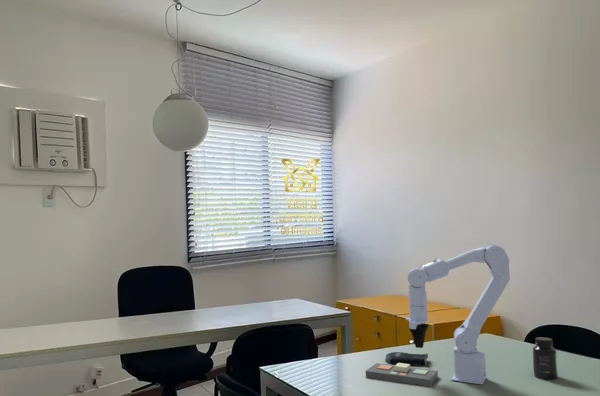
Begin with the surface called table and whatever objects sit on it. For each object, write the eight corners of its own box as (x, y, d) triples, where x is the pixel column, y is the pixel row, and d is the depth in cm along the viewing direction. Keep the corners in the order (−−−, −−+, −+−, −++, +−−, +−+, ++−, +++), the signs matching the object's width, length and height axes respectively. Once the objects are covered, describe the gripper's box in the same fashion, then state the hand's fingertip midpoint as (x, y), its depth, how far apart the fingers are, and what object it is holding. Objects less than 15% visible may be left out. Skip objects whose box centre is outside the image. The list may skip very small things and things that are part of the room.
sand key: (410, 369, 157) (410, 364, 157) (406, 372, 153) (406, 367, 153) (398, 367, 159) (398, 362, 159) (394, 370, 155) (394, 365, 155)
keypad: (438, 377, 154) (437, 370, 154) (430, 386, 146) (429, 379, 146) (376, 368, 165) (376, 362, 165) (365, 377, 156) (365, 370, 156)
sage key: (428, 375, 154) (428, 370, 154) (425, 379, 150) (425, 374, 150) (416, 373, 156) (416, 369, 156) (412, 377, 152) (412, 372, 152)
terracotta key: (392, 370, 160) (392, 365, 160) (388, 374, 156) (388, 369, 156) (381, 369, 162) (381, 364, 162) (377, 372, 158) (377, 367, 158)
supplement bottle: (562, 378, 150) (560, 339, 151) (546, 381, 148) (544, 342, 149) (545, 372, 157) (543, 335, 157) (529, 375, 154) (527, 337, 155)
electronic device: (427, 364, 175) (386, 356, 179) (429, 349, 174) (388, 341, 179) (425, 375, 166) (383, 366, 171) (427, 360, 165) (384, 351, 170)
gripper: (412, 301, 165) (413, 341, 164) (399, 308, 152) (400, 351, 151) (432, 302, 161) (434, 343, 161) (421, 309, 149) (422, 353, 148)
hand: (419, 347), depth 156 cm, fingers closed
